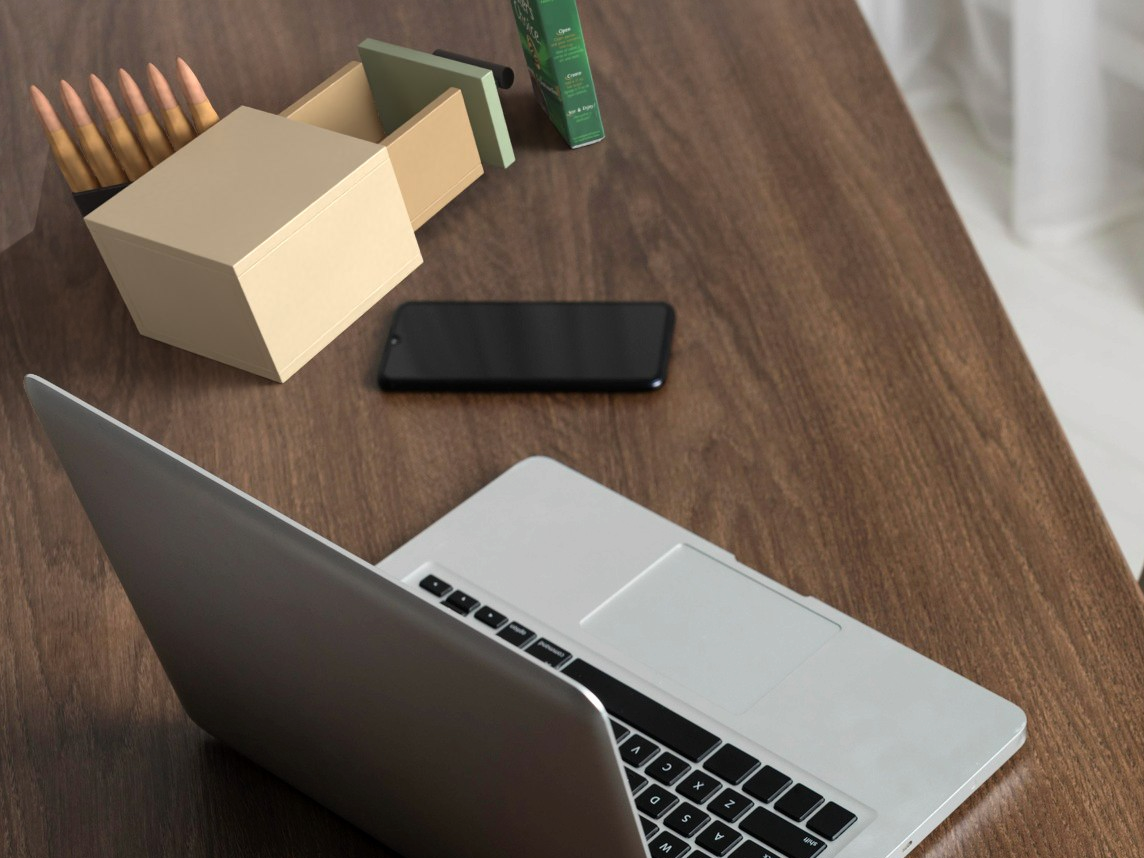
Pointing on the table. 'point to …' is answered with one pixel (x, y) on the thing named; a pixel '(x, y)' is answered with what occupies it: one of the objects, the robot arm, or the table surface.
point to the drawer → (418, 117)
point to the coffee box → (559, 67)
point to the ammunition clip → (120, 132)
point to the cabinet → (258, 241)
